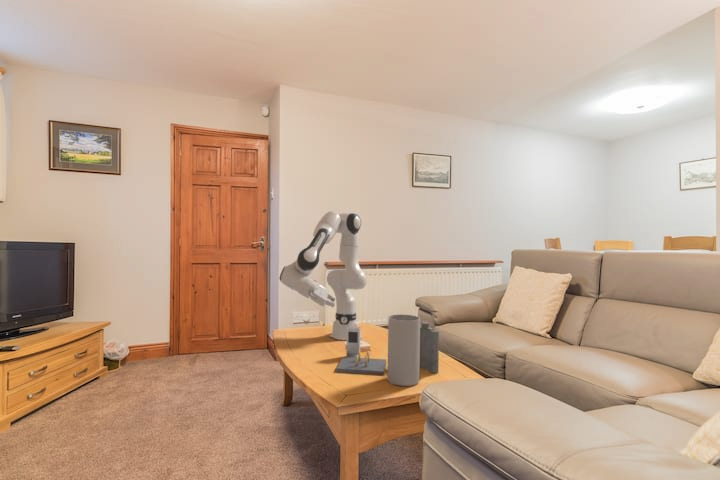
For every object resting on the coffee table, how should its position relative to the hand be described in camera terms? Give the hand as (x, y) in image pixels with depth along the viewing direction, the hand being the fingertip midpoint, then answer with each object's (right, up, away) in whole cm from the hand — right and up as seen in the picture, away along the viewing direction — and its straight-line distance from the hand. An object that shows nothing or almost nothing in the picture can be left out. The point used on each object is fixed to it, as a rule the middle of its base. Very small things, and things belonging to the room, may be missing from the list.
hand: (334, 303), depth 177 cm
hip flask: (+41, -26, -18) cm, 52 cm away
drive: (+9, -25, -5) cm, 27 cm away
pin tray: (+14, -25, -19) cm, 34 cm away
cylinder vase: (+30, -25, -34) cm, 52 cm away
